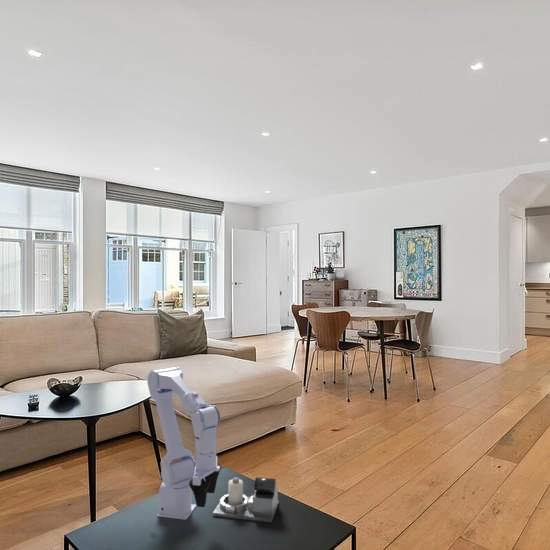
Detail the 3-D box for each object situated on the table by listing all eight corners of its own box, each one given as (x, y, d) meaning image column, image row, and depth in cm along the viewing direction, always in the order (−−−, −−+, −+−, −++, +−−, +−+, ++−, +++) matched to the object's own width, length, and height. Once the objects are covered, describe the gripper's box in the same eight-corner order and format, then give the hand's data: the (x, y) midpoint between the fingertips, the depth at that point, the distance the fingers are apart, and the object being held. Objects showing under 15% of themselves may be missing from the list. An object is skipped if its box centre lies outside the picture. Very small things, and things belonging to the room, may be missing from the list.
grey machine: (212, 515, 128) (212, 482, 128) (224, 497, 139) (224, 466, 139) (271, 522, 125) (271, 488, 125) (278, 503, 135) (278, 471, 135)
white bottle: (239, 509, 130) (239, 483, 130) (225, 507, 131) (226, 480, 131) (244, 502, 134) (245, 476, 134) (231, 500, 135) (232, 474, 135)
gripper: (210, 462, 112) (210, 514, 112) (227, 442, 126) (227, 488, 126) (185, 460, 113) (185, 511, 113) (204, 440, 128) (205, 485, 127)
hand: (206, 499), depth 120 cm, fingers open, 7 cm apart
